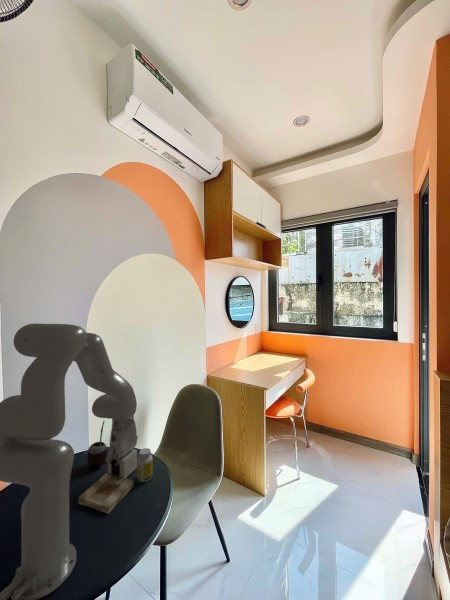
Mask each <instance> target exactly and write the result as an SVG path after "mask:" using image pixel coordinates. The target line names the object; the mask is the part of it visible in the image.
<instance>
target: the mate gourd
mask: <svg viewBox="0 0 450 600" xmlns="http://www.w3.org/2000/svg"><path fill="white" fill-rule="evenodd" d="M104 426H105V420H103V421H102V426H101V429H100V437H99V441H96V442H94V443H92V444H91V445H90V446H89V447H88V449H87V454H86V456H87V464H88V470H91V469H94V468H97V469H98V470H101V469H102V468H101V465H104V464H105V463H106V458H107V456H108V445H106V443H105V442H104V441H102V439H103V431H104Z"/></svg>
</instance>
